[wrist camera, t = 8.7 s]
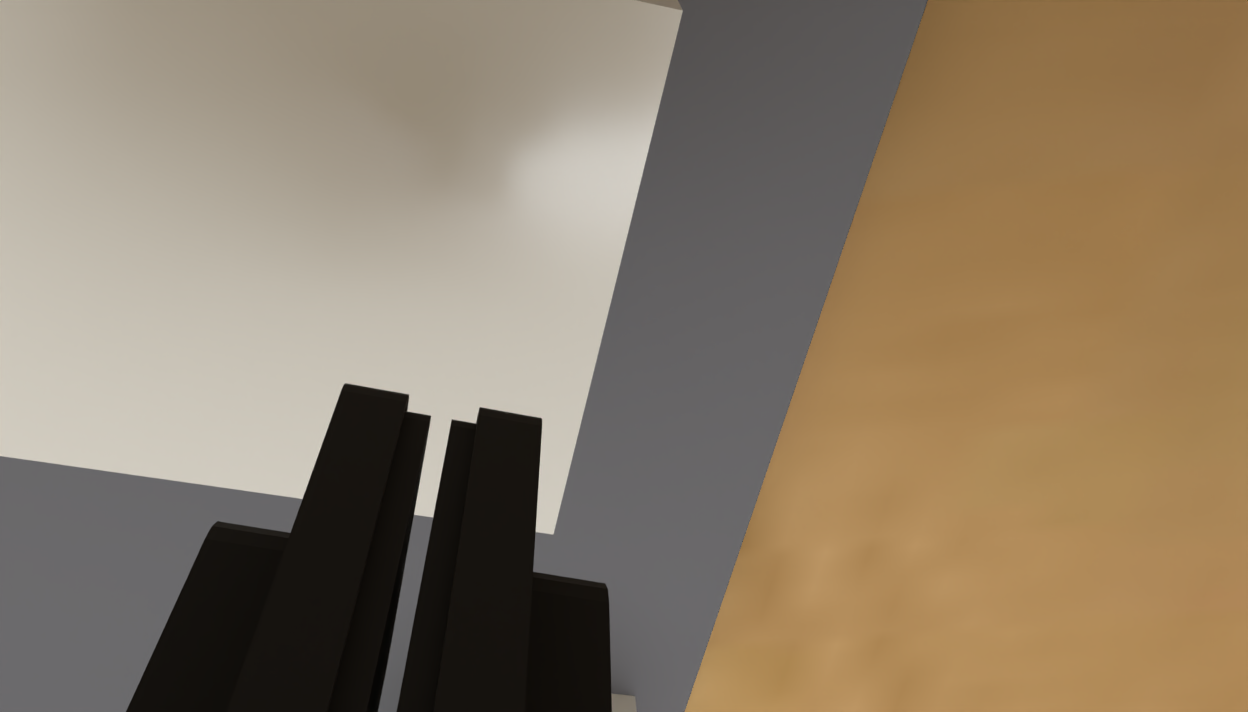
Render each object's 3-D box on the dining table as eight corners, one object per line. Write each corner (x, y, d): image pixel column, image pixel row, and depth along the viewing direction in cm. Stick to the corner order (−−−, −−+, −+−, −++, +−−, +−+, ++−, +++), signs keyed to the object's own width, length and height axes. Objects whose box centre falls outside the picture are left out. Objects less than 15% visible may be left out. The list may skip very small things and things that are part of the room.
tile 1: (658, -38, 17) (-6, -189, 15) (682, 11, 14) (-121, -167, 13) (550, 426, 20) (6, 341, 19) (553, 534, 18) (-81, 444, 16)
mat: (-257, -523, 14) (-288, -532, 13) (980, -198, 17) (994, -195, 16) (-109, 950, 27) (-121, 974, 26) (576, 1002, 29) (577, 1025, 29)
